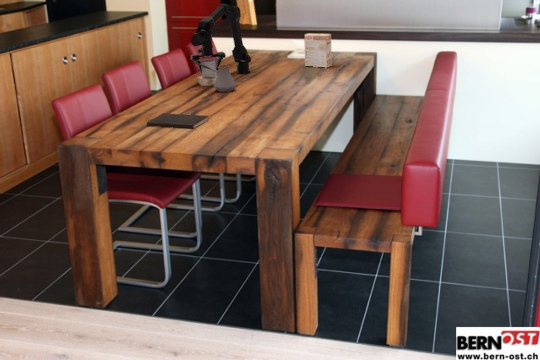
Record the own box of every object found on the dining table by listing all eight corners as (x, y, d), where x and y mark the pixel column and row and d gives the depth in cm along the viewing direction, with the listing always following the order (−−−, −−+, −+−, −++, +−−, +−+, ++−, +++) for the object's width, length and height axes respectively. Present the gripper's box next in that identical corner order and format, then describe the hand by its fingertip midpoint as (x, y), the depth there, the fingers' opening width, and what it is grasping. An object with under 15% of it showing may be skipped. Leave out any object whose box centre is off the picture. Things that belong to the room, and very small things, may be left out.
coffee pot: (238, 88, 377) (236, 60, 372) (233, 93, 366) (231, 64, 361) (200, 87, 381) (198, 60, 376) (193, 92, 371) (191, 64, 366)
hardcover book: (163, 118, 325) (163, 113, 325) (208, 120, 318) (208, 115, 317) (146, 127, 311) (146, 122, 310) (193, 130, 304) (193, 125, 303)
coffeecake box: (331, 66, 424) (331, 33, 418) (326, 68, 419) (326, 35, 412) (310, 64, 432) (309, 32, 426) (304, 66, 427) (303, 34, 420)
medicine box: (217, 75, 393) (216, 59, 390) (215, 76, 388) (214, 61, 385) (203, 75, 393) (202, 60, 390) (201, 77, 389) (200, 61, 386)
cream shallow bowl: (217, 80, 399) (217, 74, 398) (222, 84, 388) (222, 78, 387) (197, 82, 396) (196, 76, 395) (201, 86, 385) (201, 80, 384)
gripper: (220, 40, 394) (222, 67, 400) (187, 42, 389) (189, 70, 395) (225, 42, 384) (226, 71, 390) (191, 45, 379) (193, 74, 385)
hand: (209, 71), depth 390 cm, fingers closed on medicine box, 9 cm apart
